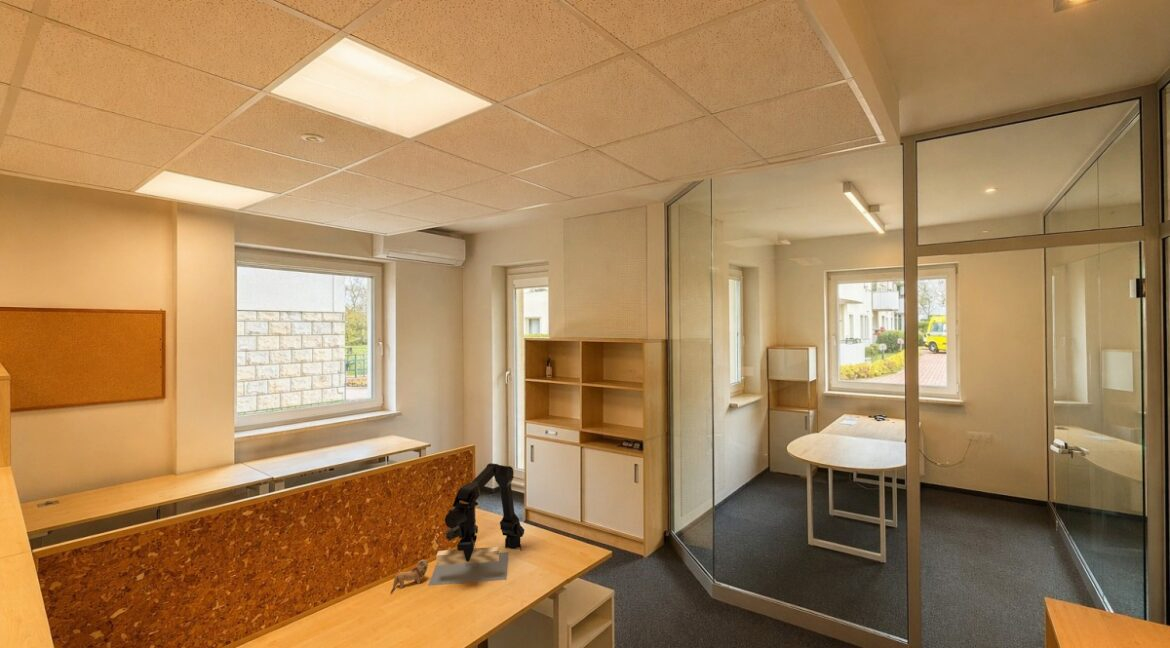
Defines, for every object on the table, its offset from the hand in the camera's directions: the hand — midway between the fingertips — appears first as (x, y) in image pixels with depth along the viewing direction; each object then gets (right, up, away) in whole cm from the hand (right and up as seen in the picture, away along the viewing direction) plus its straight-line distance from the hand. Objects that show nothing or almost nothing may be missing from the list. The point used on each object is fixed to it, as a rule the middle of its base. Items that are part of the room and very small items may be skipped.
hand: (468, 558), depth 198 cm
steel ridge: (-1, -8, +13) cm, 15 cm away
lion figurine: (-22, -9, -4) cm, 24 cm away
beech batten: (0, -1, 0) cm, 1 cm away
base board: (-1, -9, +8) cm, 12 cm away
